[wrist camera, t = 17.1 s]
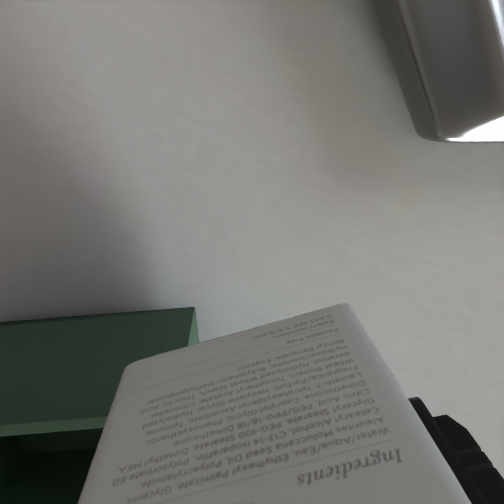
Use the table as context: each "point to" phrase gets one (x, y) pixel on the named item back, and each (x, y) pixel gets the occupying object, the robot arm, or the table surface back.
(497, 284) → the table surface
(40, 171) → the table surface
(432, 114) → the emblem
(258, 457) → the product carton
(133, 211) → the table surface
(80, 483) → the bin
